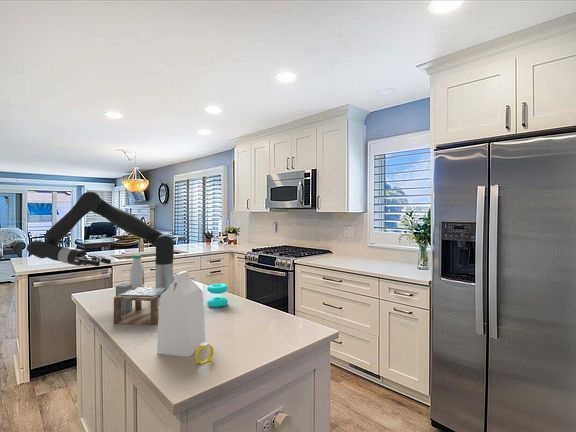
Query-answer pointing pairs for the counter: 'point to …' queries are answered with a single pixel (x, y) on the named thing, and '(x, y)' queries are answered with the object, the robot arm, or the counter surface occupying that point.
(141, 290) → the trapdoor
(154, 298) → the frame
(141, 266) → the milk bottle
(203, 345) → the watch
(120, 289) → the soapstone block
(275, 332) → the counter surface
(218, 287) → the donuts
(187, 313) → the milk
